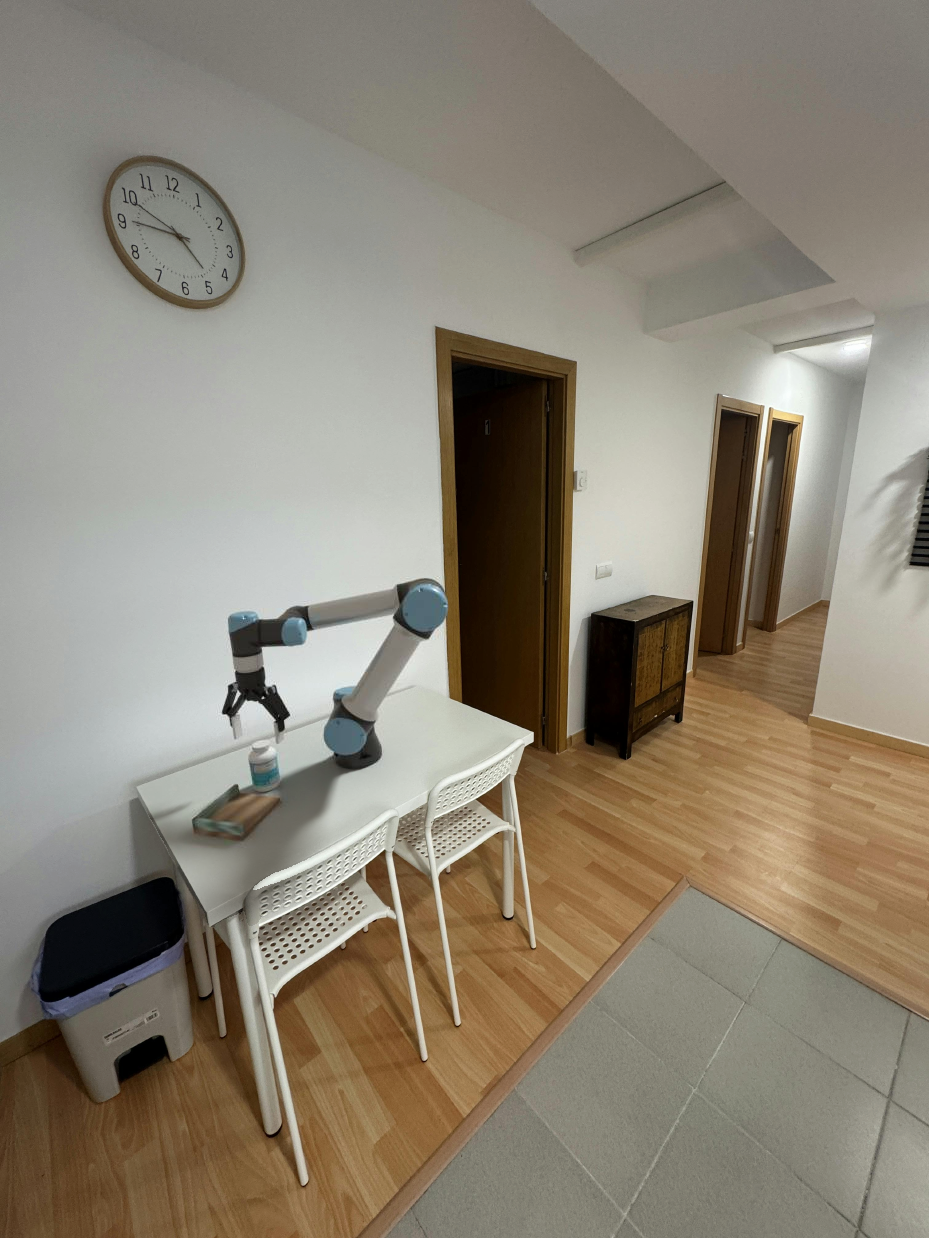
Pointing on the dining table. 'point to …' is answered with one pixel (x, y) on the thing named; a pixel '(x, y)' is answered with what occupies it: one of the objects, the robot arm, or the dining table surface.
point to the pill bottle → (264, 766)
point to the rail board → (234, 814)
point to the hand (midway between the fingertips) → (259, 739)
